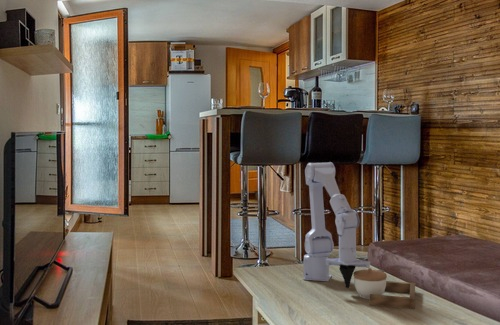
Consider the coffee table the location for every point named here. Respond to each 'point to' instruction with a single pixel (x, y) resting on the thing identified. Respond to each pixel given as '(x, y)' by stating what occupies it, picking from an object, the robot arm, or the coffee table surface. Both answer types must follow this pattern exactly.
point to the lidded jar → (370, 282)
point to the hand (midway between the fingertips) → (347, 287)
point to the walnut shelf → (396, 300)
